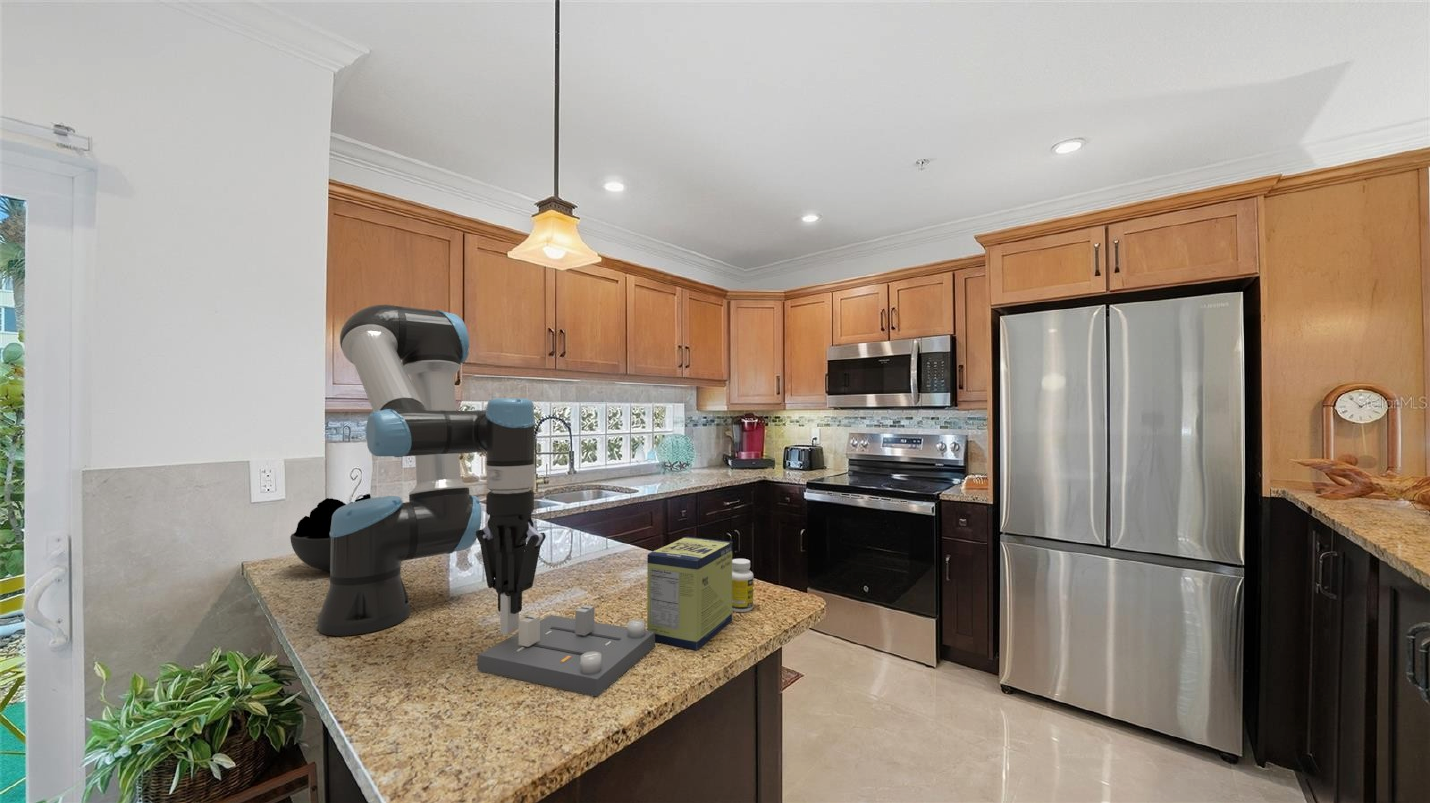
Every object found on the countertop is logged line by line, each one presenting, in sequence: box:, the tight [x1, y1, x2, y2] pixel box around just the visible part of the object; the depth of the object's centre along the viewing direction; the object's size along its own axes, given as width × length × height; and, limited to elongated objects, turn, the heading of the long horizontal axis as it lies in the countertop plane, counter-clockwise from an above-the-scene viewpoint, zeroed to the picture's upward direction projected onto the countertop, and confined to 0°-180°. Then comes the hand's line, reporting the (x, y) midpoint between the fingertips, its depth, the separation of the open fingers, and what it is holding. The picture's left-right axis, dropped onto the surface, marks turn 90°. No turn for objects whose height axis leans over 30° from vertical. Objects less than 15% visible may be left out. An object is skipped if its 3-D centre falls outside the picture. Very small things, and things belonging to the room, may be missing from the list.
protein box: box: [646, 536, 733, 651], centre depth 102 cm, size 10×16×16 cm
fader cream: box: [518, 613, 541, 647], centre depth 90 cm, size 2×3×4 cm
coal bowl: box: [289, 493, 372, 572], centre depth 141 cm, size 20×20×19 cm
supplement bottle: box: [732, 558, 754, 613], centre depth 113 cm, size 5×5×10 cm
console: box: [477, 614, 656, 698], centre depth 90 cm, size 22×18×5 cm
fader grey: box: [574, 604, 595, 636], centre depth 94 cm, size 2×3×4 cm
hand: (509, 631), depth 91 cm, fingers closed
